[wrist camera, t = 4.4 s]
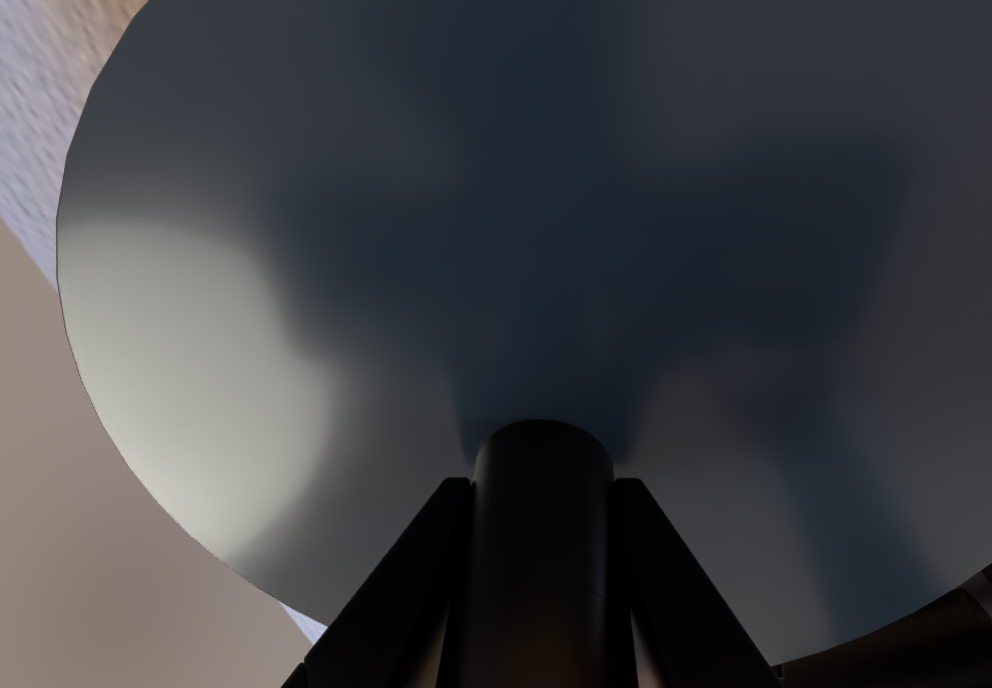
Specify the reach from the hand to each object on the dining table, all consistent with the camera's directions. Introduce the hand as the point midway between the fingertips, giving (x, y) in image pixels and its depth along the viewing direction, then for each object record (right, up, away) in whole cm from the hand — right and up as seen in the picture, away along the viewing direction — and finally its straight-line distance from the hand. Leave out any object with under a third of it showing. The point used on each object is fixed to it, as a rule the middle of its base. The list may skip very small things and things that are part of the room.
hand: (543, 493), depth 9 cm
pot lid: (0, +1, +1) cm, 1 cm away
